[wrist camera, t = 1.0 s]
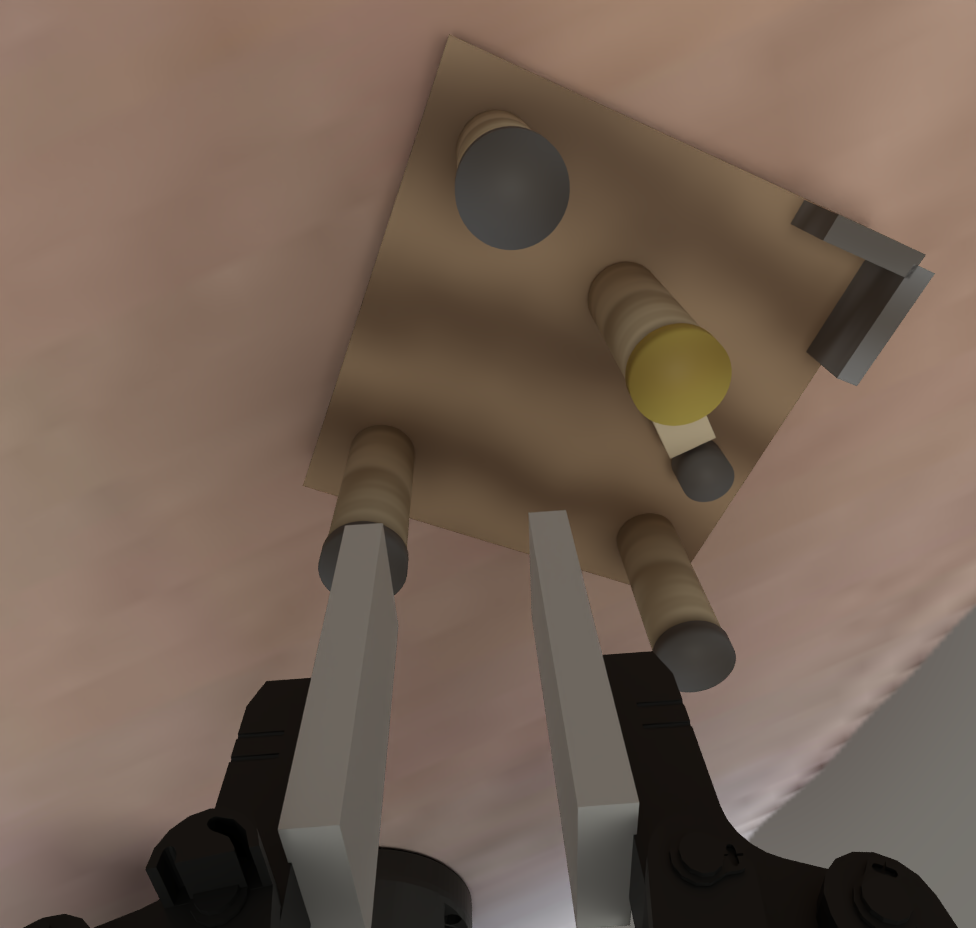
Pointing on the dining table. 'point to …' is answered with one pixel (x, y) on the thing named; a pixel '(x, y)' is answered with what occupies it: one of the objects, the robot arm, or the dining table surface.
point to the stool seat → (581, 337)
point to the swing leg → (667, 371)
